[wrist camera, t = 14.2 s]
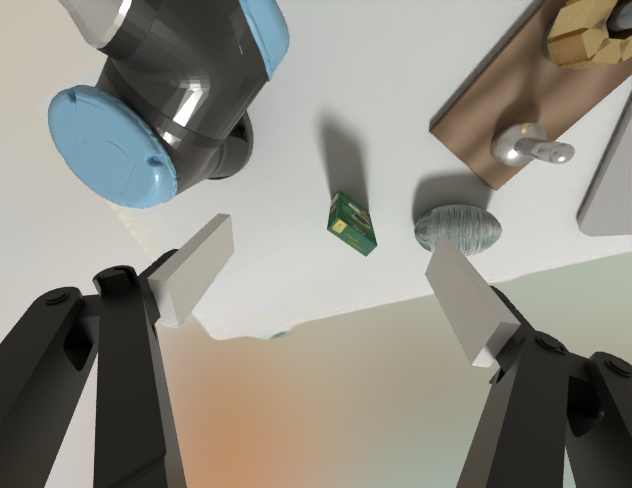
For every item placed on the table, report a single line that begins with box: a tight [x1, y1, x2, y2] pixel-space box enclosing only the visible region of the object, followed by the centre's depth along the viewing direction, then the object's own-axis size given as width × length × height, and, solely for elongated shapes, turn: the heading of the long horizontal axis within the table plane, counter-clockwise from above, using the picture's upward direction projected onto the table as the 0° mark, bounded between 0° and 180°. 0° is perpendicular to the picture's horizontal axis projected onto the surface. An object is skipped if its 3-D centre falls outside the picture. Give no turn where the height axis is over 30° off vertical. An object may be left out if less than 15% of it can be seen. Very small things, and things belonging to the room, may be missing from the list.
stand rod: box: [490, 122, 575, 166], centre depth 34 cm, size 6×6×11 cm
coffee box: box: [327, 191, 377, 256], centre depth 42 cm, size 8×3×13 cm, turn 54°
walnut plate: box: [429, 0, 632, 191], centre depth 36 cm, size 16×24×2 cm, turn 145°
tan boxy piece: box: [547, 0, 632, 69], centre depth 27 cm, size 8×8×5 cm
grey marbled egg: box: [414, 204, 502, 256], centre depth 44 cm, size 14×10×10 cm
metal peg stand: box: [541, 0, 632, 62], centre depth 27 cm, size 6×6×11 cm
